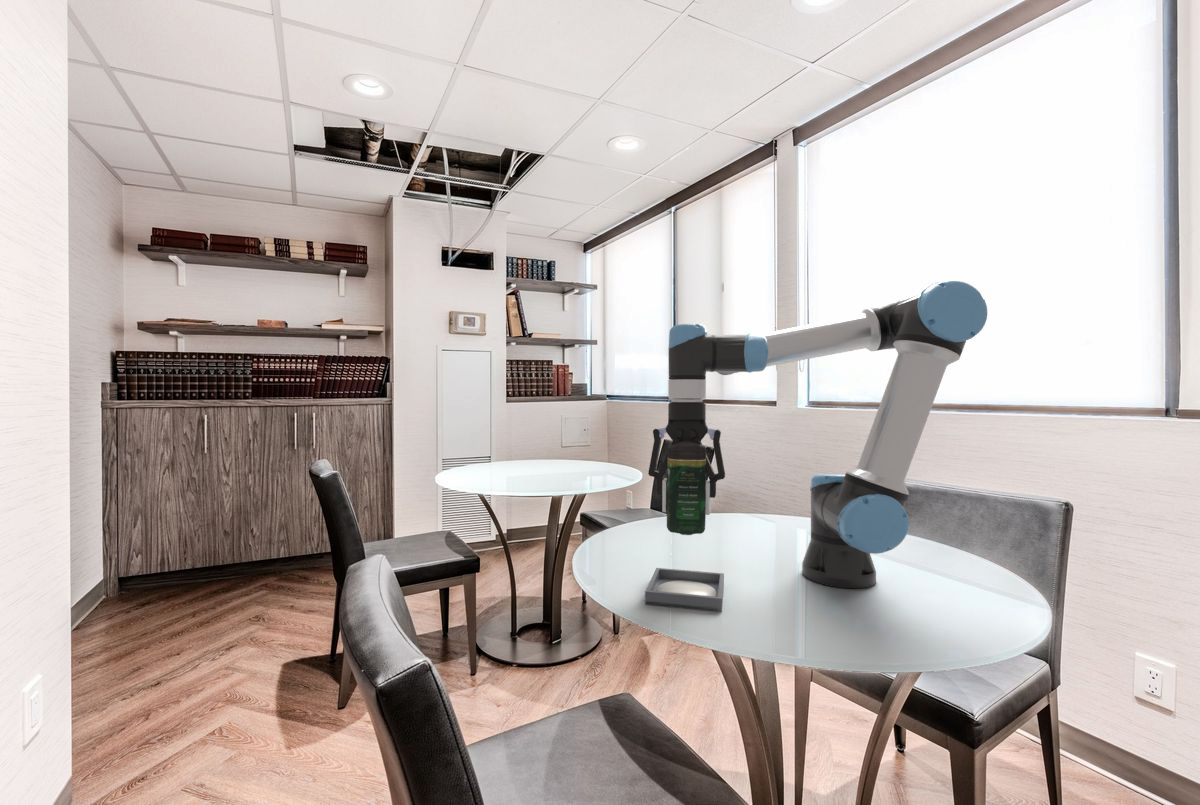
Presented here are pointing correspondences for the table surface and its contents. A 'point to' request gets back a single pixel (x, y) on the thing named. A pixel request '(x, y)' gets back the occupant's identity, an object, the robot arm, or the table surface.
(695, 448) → the coffee jar
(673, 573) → the cradle tray
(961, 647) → the table surface
